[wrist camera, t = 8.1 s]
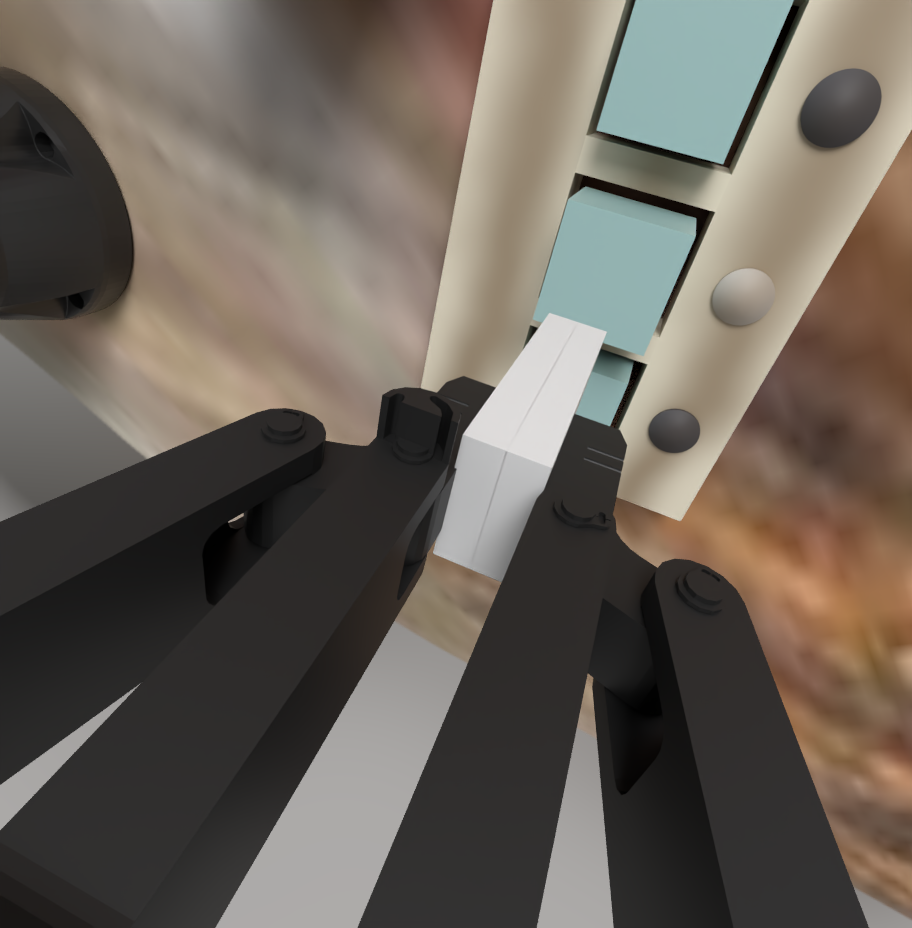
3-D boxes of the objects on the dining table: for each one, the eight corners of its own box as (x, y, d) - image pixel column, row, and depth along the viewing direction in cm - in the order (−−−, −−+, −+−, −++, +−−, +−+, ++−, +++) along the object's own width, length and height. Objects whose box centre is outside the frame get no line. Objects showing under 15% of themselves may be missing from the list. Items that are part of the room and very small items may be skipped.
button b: (552, 294, 27) (532, 319, 24) (585, 186, 24) (568, 199, 21) (650, 325, 26) (643, 356, 23) (696, 218, 24) (695, 236, 20)
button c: (609, 126, 25) (596, 130, 22) (653, -15, 22) (646, -35, 19) (719, 156, 24) (722, 164, 21) (780, 13, 21) (794, -3, 18)
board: (433, 399, 36) (413, 422, 34) (541, -128, 22) (520, -158, 20) (681, 491, 34) (680, 523, 31) (984, -42, 19) (1027, -64, 17)
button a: (523, 401, 33) (504, 433, 30) (547, 323, 30) (529, 350, 27) (603, 429, 32) (592, 466, 29) (635, 353, 29) (628, 383, 26)
